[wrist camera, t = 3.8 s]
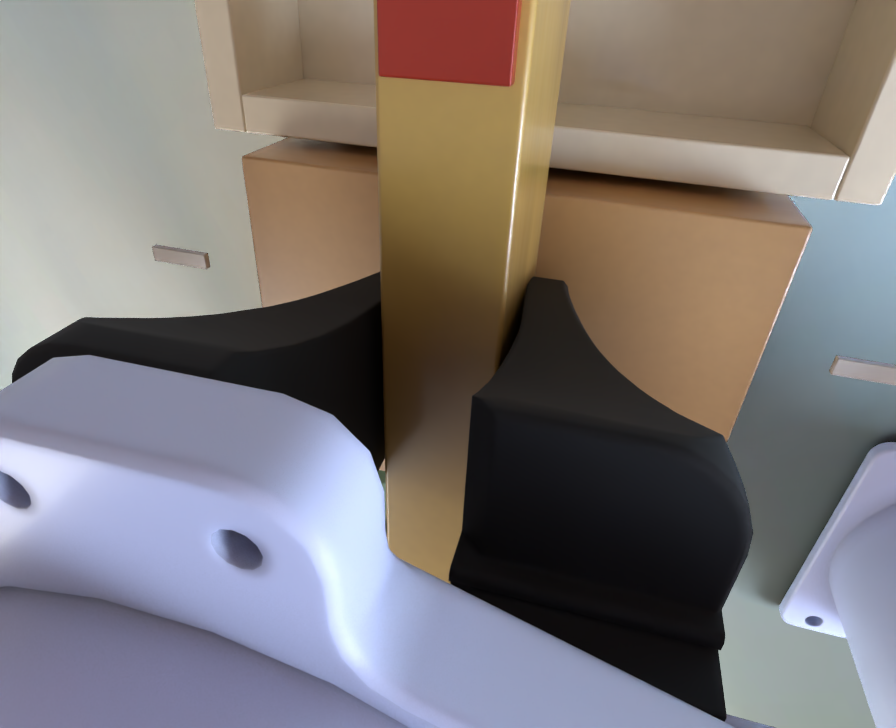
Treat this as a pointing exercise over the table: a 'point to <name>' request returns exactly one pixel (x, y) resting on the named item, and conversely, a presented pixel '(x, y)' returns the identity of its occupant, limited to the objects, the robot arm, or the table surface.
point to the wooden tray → (613, 87)
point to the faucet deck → (571, 264)
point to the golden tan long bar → (454, 232)
